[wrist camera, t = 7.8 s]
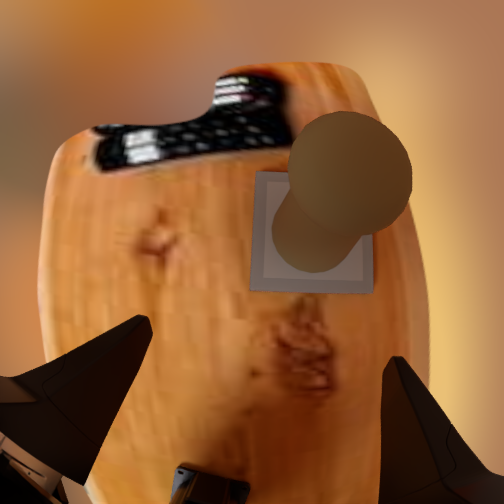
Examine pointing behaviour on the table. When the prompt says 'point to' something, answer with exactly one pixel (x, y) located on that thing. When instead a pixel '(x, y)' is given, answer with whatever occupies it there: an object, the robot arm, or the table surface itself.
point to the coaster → (284, 275)
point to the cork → (339, 189)
